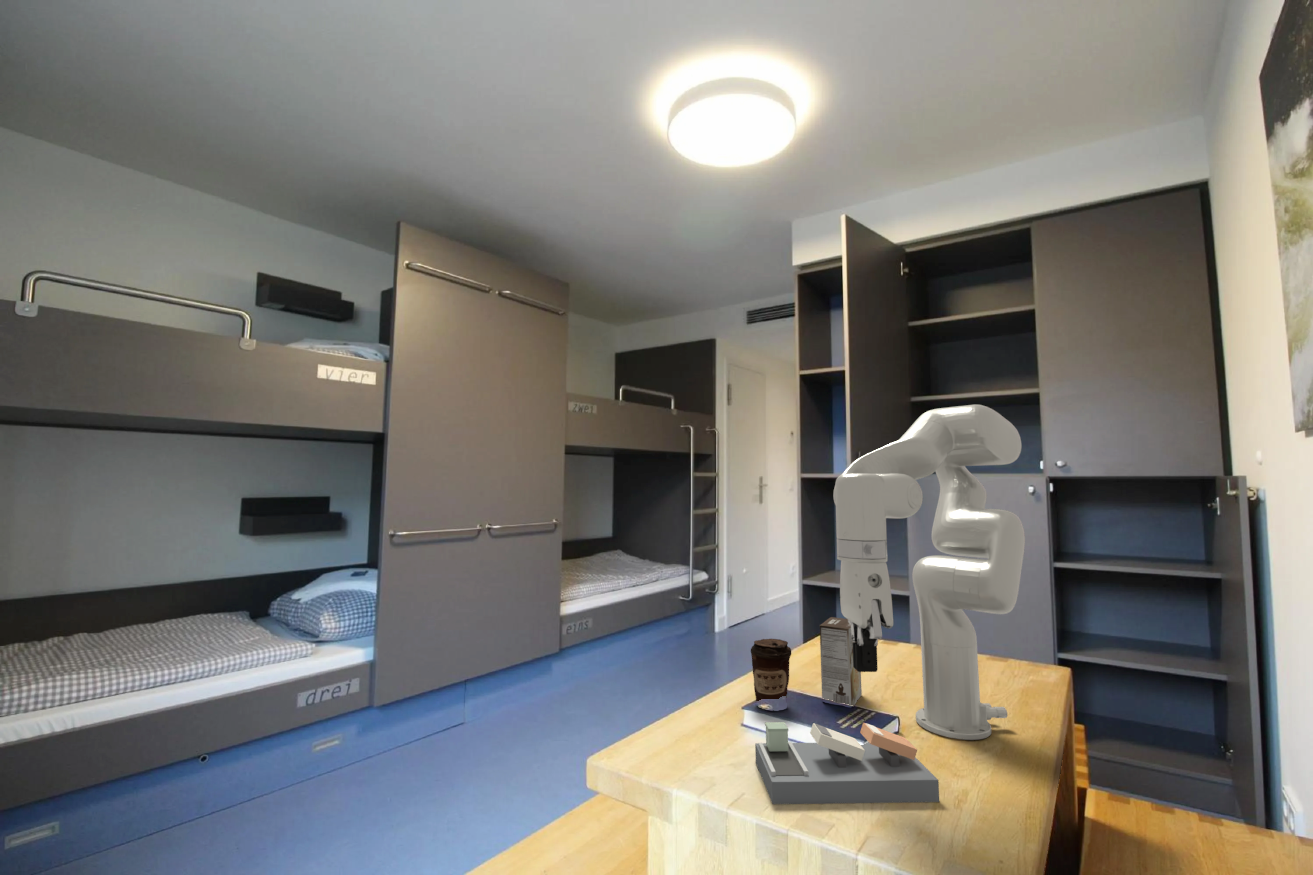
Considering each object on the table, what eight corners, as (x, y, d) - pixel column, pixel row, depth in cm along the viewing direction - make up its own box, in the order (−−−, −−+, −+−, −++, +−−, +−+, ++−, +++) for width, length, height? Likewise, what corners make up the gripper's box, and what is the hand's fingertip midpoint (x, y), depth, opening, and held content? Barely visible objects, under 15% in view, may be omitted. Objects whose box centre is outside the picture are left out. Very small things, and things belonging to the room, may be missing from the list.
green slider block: (785, 744, 89) (784, 722, 89) (788, 751, 87) (788, 728, 87) (765, 744, 89) (765, 722, 89) (768, 751, 87) (768, 728, 87)
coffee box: (832, 689, 123) (830, 615, 124) (862, 695, 120) (859, 619, 121) (821, 702, 115) (818, 624, 117) (852, 709, 112) (850, 628, 113)
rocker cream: (851, 748, 87) (855, 737, 87) (861, 760, 83) (865, 749, 83) (810, 732, 87) (813, 721, 87) (817, 744, 83) (821, 733, 83)
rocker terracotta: (901, 747, 87) (905, 736, 87) (914, 759, 83) (917, 748, 83) (860, 732, 87) (863, 721, 87) (870, 743, 83) (873, 732, 83)
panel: (900, 760, 91) (899, 731, 91) (939, 801, 79) (937, 768, 79) (755, 762, 90) (755, 733, 90) (772, 803, 78) (771, 769, 79)
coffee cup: (793, 717, 108) (792, 648, 109) (750, 713, 110) (749, 646, 111) (791, 700, 116) (790, 637, 118) (752, 697, 118) (751, 635, 119)
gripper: (907, 556, 80) (912, 686, 78) (866, 546, 95) (869, 656, 93) (856, 556, 80) (860, 686, 78) (823, 546, 95) (825, 656, 93)
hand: (865, 669), depth 86 cm, fingers closed
